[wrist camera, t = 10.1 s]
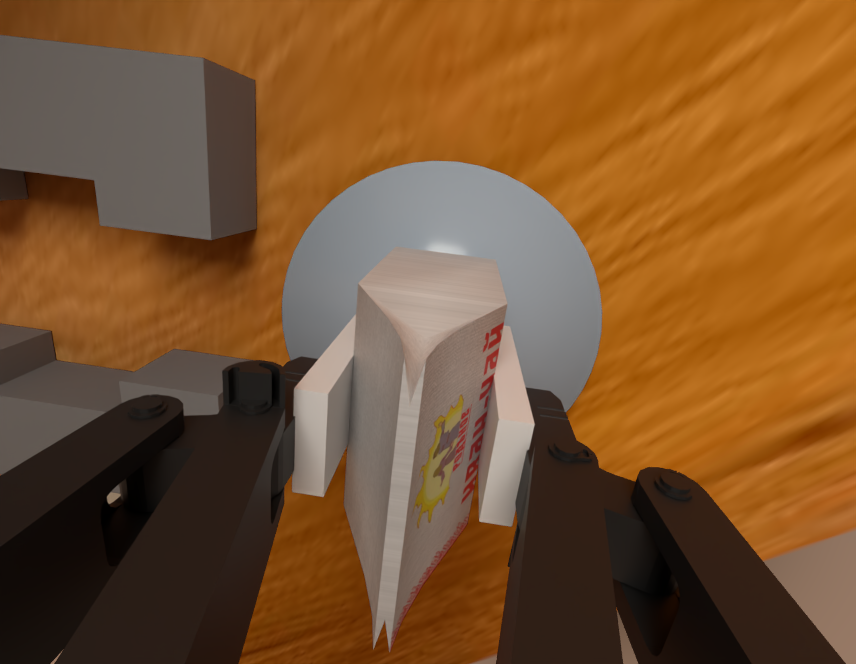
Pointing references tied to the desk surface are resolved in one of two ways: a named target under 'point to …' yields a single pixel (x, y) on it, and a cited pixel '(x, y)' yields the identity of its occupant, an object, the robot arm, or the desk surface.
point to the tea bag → (417, 415)
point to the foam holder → (119, 205)
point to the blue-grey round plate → (463, 235)
